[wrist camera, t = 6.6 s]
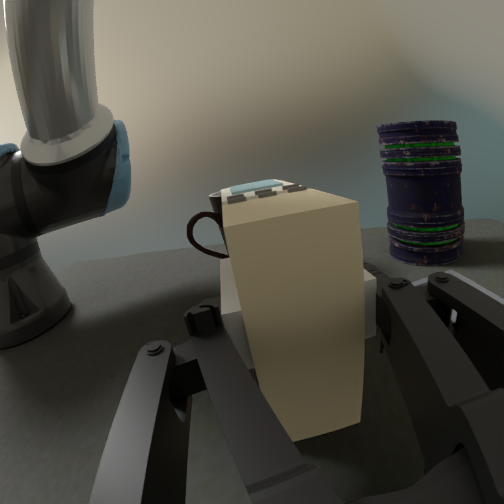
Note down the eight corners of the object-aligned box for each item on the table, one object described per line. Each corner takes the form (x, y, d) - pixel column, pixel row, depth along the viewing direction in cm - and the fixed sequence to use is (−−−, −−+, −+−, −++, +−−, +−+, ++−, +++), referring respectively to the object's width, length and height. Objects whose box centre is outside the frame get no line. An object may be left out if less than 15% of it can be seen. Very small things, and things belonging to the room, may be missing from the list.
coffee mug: (287, 254, 40) (274, 179, 37) (310, 275, 32) (296, 182, 29) (201, 274, 39) (183, 198, 36) (203, 302, 30) (179, 206, 27)
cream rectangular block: (274, 446, 12) (221, 221, 9) (260, 379, 18) (221, 201, 14) (360, 422, 13) (357, 195, 9) (328, 363, 18) (309, 184, 15)
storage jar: (381, 242, 37) (368, 129, 33) (444, 235, 35) (436, 125, 30) (400, 271, 28) (387, 122, 24) (477, 260, 26) (472, 120, 21)
